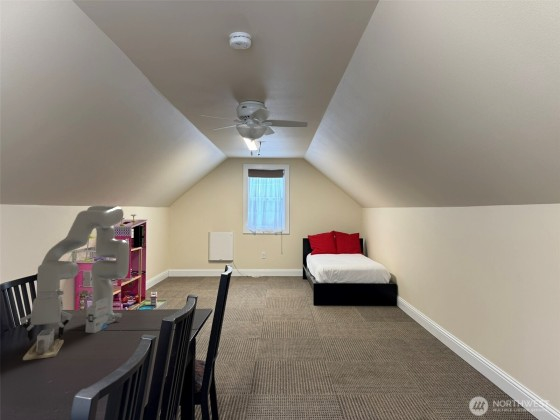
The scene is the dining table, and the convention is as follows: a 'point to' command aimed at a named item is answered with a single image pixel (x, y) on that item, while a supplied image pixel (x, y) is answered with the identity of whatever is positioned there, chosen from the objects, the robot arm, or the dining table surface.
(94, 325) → the ink box
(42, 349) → the cradle
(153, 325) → the dining table surface
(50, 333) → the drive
